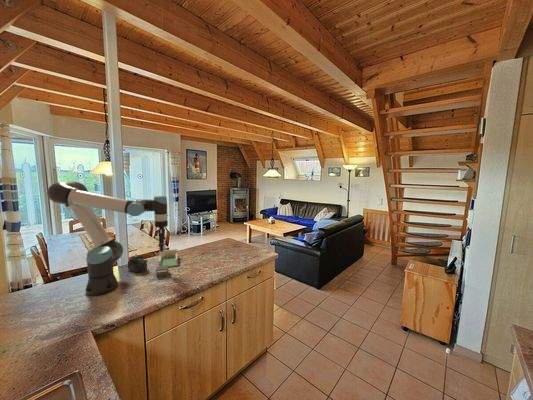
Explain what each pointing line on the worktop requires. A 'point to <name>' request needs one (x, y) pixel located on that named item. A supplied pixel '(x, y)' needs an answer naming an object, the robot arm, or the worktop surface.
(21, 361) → the worktop surface
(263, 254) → the worktop surface
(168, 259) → the header
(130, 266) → the camera
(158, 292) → the worktop surface
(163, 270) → the plug
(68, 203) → the robot arm
